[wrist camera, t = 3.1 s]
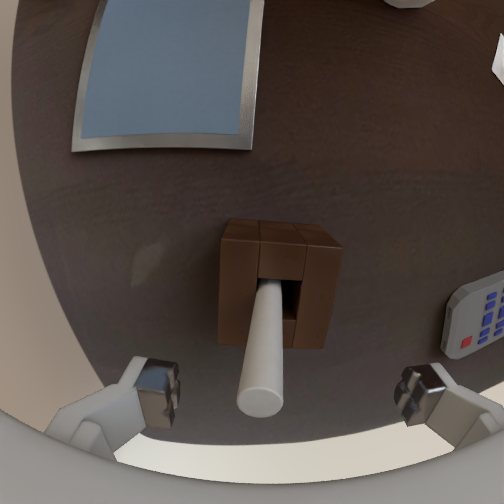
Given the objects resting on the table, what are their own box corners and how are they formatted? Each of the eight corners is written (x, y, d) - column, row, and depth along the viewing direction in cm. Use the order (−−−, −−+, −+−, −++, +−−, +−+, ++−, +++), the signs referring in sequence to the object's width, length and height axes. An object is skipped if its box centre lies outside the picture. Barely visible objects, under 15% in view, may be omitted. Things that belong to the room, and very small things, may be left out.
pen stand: (225, 300, 22) (217, 344, 16) (229, 218, 20) (220, 238, 14) (307, 305, 22) (323, 349, 16) (319, 225, 20) (343, 247, 15)
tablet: (76, 152, 19) (70, 152, 18) (118, -37, 13) (115, -41, 12) (252, 151, 19) (252, 150, 18) (269, -51, 13) (269, -57, 12)
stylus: (260, 272, 21) (235, 415, 8) (262, 254, 21) (237, 385, 8) (279, 274, 21) (279, 420, 8) (281, 256, 21) (286, 390, 7)
